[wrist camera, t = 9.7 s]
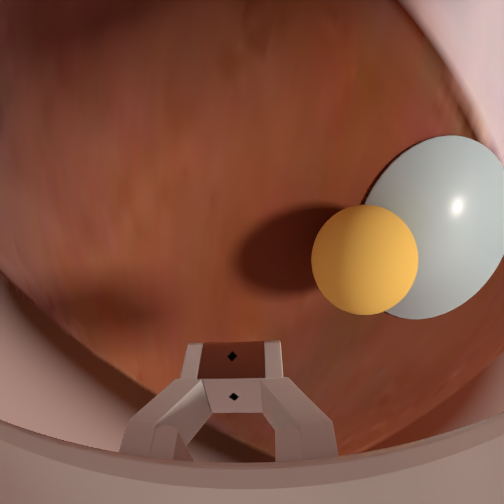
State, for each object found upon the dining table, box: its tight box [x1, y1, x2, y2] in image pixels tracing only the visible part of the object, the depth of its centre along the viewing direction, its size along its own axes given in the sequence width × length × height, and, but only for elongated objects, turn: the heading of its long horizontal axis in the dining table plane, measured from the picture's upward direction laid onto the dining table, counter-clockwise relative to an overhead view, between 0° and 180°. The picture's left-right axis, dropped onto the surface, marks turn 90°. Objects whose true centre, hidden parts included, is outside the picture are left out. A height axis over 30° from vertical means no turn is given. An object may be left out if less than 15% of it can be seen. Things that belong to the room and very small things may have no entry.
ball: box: [311, 205, 418, 315], centre depth 16 cm, size 6×6×6 cm
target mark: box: [364, 135, 504, 319], centre depth 18 cm, size 13×13×1 cm
